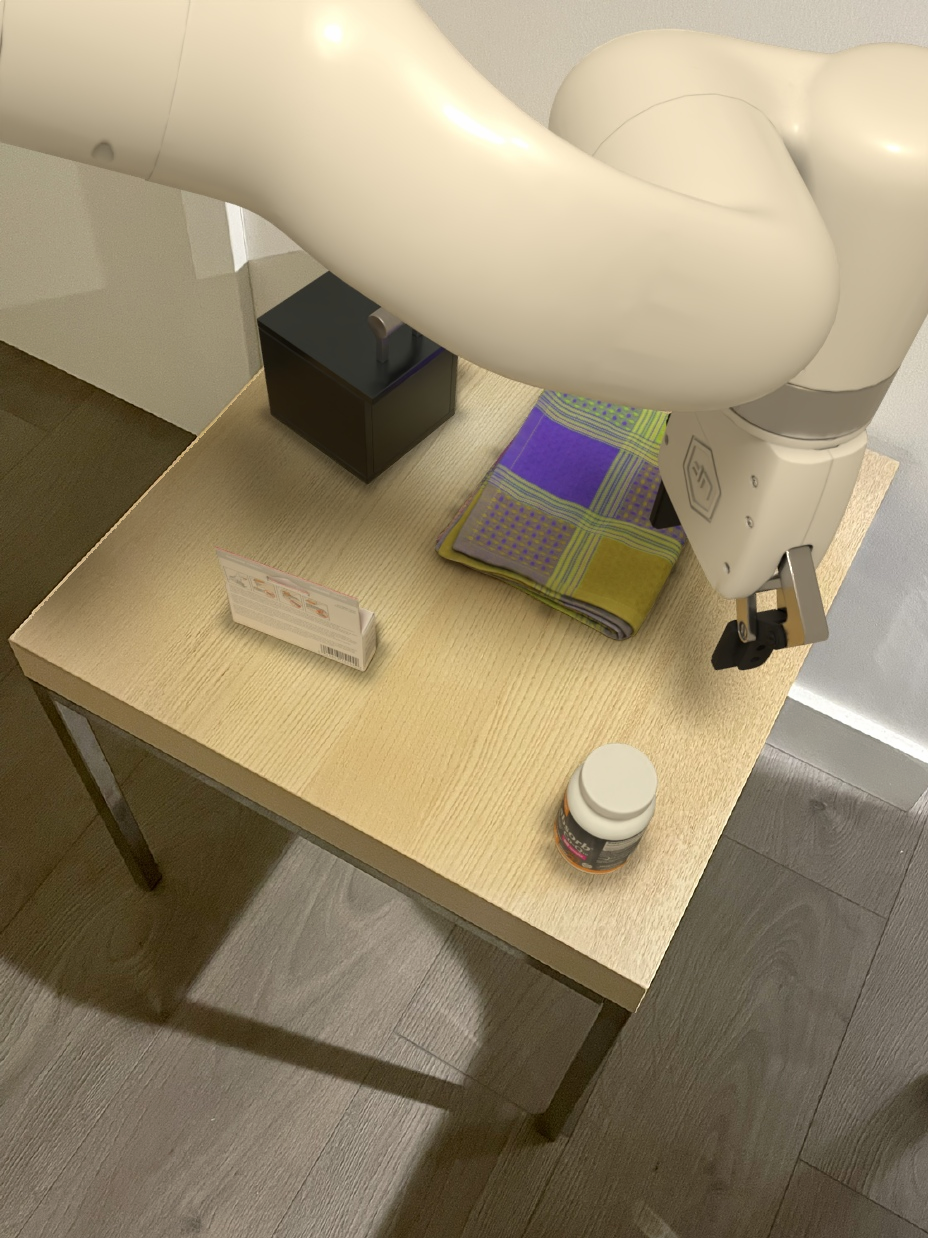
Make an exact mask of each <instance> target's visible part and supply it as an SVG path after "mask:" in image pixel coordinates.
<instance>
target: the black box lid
mask: <svg viewBox="0 0 928 1238" xmlns="http://www.w3.org/2000/svg"><path fill="white" fill-rule="evenodd" d="M256 324H257V328H258V327H259V328H261V329H262V330H264V331H265V332H267V333H268V334H270V335H271V336H272V337H274V338H275V339H277V340H278V341H280V342H281V343H282V344H284V345H285V346H287V347H288V348H290V349H291V350H293V351H294V352H295V353H297V354H298V355H300V356H301V357H303V358H304V359H306V360H307V361H308V362H310V363H311V364H313V365H314V366H316V367H317V368H318V369H320V370H321V371H323V372H324V373H326V374H327V375H329V376H330V377H331V378H333V379H334V380H336V381H337V382H339V383H340V384H342V385H343V386H344V387H346V388H347V389H349V390H350V391H352V392H353V393H355V394H356V395H357V396H359V397H360V398H362V399H363V400H365V401H366V402H367V403H369V404H370V405H372V406H373V405H374V404H376V403H377V402H378V401H380V400H381V399H382V398H384V397H385V396H386V395H387V394H389V393H390V392H391V391H393V390H394V389H395V388H397V387H398V386H399V385H401V384H402V383H403V382H404V381H406V380H407V379H408V378H410V377H411V376H412V375H414V374H415V373H416V372H418V371H419V370H420V369H421V368H423V367H424V366H425V365H427V364H428V363H429V362H431V361H432V360H433V359H435V358H436V357H437V356H438V355H440V354H441V353H442V352H444V351H445V350H446V349H445V348H443V347H442V346H440V345H439V344H437V343H435V342H434V341H432V340H430V339H429V338H427V337H426V336H424V335H422V334H421V333H419V332H418V331H416V330H415V329H413V328H412V327H410V326H409V325H407V324H406V323H404V322H403V321H401V320H400V319H398V318H397V317H395V316H394V315H393V314H391V313H390V312H388V311H387V310H385V309H384V308H383V307H381V306H380V305H378V304H377V303H375V302H374V301H372V300H370V299H369V298H367V297H366V296H364V295H363V294H361V293H360V292H359V291H357V290H356V289H354V288H353V287H351V286H350V285H348V284H347V283H345V282H344V281H342V280H341V279H340V278H338V277H337V276H336V275H334V274H333V273H332V272H330V271H329V270H328V271H326V272H324V273H323V274H321V275H320V276H318V277H317V278H315V279H314V280H312V281H311V282H309V283H308V284H306V285H305V286H303V287H302V288H300V289H299V290H297V291H296V292H295V293H293V294H291V295H290V296H288V297H287V298H285V299H284V300H282V301H281V302H280V303H278V304H277V305H274V307H272V308H270V309H269V310H267V311H266V312H264V313H263V314H261V315H260V316H258V317H257V318H256Z"/></svg>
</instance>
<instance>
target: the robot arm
mask: <svg viewBox="0 0 928 1238" xmlns="http://www.w3.org/2000/svg"><path fill="white" fill-rule="evenodd" d="M547 126H548V128H547V127H546V126H545V125H543V124H542V123H541V122H539V121H538V120H536V119H535V118H533V117H532V116H531V115H529V114H528V113H526V112H525V111H524V110H522V109H521V108H520V106H518V105H517V104H515V102H513V101H512V100H510V99H509V98H508V97H507V96H506V95H504V94H503V93H502V92H501V91H500V90H499V89H498V88H497V87H495V86H494V85H493V84H492V83H491V82H490V81H489V80H488V79H487V78H486V77H485V76H484V75H483V74H482V73H481V72H479V70H477V68H475V66H473V64H471V63H470V61H469V60H467V59H466V57H464V55H463V54H462V53H461V52H460V51H459V50H458V49H457V48H456V47H455V45H453V44H452V42H451V41H450V40H449V39H448V38H447V36H446V35H445V34H444V33H443V32H442V30H441V29H440V28H439V27H438V25H437V24H436V23H435V22H434V20H433V19H432V18H431V17H430V16H429V14H428V13H427V12H426V11H425V10H424V9H423V7H422V5H420V4H419V2H418V1H417V0H0V143H1V144H6V145H10V146H13V147H17V148H21V149H25V150H28V151H33V152H37V153H41V154H45V155H49V156H52V157H57V158H60V159H65V160H68V161H73V162H76V163H79V164H80V163H81V164H85V165H88V166H92V167H96V168H100V169H104V170H107V171H112V172H115V173H120V174H124V175H126V176H131V177H135V178H140V179H143V180H144V181H146V182H150V183H154V184H158V185H162V186H166V187H169V188H173V189H177V190H181V191H185V192H188V193H193V194H195V195H199V196H205V197H208V198H211V199H214V200H216V201H220V202H224V203H228V204H231V205H234V206H237V207H239V208H242V209H244V210H247V211H250V212H252V213H254V214H256V215H258V216H259V217H261V218H263V219H264V220H265V221H267V222H269V223H270V224H271V225H272V226H274V227H276V229H277V230H279V231H280V232H282V233H283V234H284V235H285V236H287V237H288V238H289V240H291V241H292V242H294V243H295V244H296V245H297V246H299V248H300V249H301V250H303V251H304V252H305V253H307V254H308V256H310V257H311V258H312V259H313V260H314V261H316V262H318V263H319V264H320V265H321V266H322V267H323V268H325V270H328V271H330V272H332V273H333V274H334V275H336V276H337V277H338V278H340V279H341V280H342V281H344V282H345V283H347V284H348V285H350V286H351V287H353V288H354V289H356V290H357V291H359V292H360V293H361V294H363V295H364V296H366V297H367V298H369V299H370V300H372V301H374V302H375V303H377V304H378V305H380V306H381V307H383V308H384V309H385V310H387V311H388V312H390V313H391V314H393V315H394V316H395V317H397V318H398V319H400V320H401V321H403V322H404V323H406V324H407V325H409V326H410V327H412V328H413V329H415V330H416V331H418V332H419V333H421V334H422V335H424V336H426V337H427V338H429V339H430V340H432V341H434V342H435V343H437V344H439V345H440V346H442V347H443V348H445V349H447V350H448V351H450V352H451V353H453V354H455V355H457V356H458V358H461V359H463V360H465V361H467V362H468V363H471V364H473V365H475V366H477V367H479V368H481V369H483V370H485V371H488V372H490V373H493V374H495V375H498V376H501V377H503V378H505V379H508V380H511V381H514V382H518V383H521V384H523V385H527V386H530V387H533V388H538V389H540V390H541V389H542V390H544V389H546V390H550V391H555V392H560V393H565V394H570V395H575V396H579V397H584V398H588V399H593V400H597V401H602V402H606V403H611V404H616V405H621V406H627V407H632V408H639V409H648V410H656V411H660V412H665V413H666V412H667V413H668V414H669V415H668V419H667V420H666V430H665V433H664V436H663V439H662V442H661V445H660V449H659V454H658V466H659V471H660V475H661V478H662V479H661V482H660V486H659V489H658V492H657V495H656V498H655V502H654V505H653V508H652V511H651V514H650V518H649V520H650V522H651V525H652V527H653V528H656V529H663V528H669V527H675V526H680V525H682V527H683V529H684V531H685V533H686V535H687V540H688V542H689V544H690V546H691V549H692V551H693V553H694V555H695V557H696V559H697V561H698V564H699V566H700V567H701V569H702V572H703V574H704V576H705V578H706V580H707V581H708V583H709V585H710V586H711V587H712V588H713V589H714V590H715V592H716V593H717V594H719V595H720V596H721V597H722V598H724V599H726V600H728V601H730V600H735V608H736V609H735V610H736V611H735V612H736V619H732V620H730V621H728V622H727V623H726V625H725V627H724V629H723V631H722V634H721V636H720V638H719V640H718V642H717V644H716V646H715V649H714V650H713V653H712V655H711V658H710V663H711V666H712V667H713V669H714V671H723V670H727V669H731V668H737V669H738V670H739V671H749V670H752V669H757V668H759V667H761V666H763V665H764V664H765V663H766V662H767V661H768V659H770V657H771V655H772V653H773V652H774V651H779V650H783V649H789V648H795V647H801V646H806V645H810V644H812V645H813V644H816V643H820V642H821V643H822V642H826V641H827V640H828V639H829V635H830V631H829V626H828V622H827V616H826V612H825V608H824V603H823V599H822V594H821V591H820V586H819V581H818V577H817V570H818V568H819V566H820V565H821V563H822V562H823V560H824V558H825V556H826V554H827V552H828V551H829V548H830V546H831V545H832V542H833V540H834V538H835V536H836V534H837V532H838V529H839V527H840V525H841V523H842V521H843V518H844V516H845V513H846V511H847V509H848V506H849V503H850V500H851V497H852V496H853V495H852V494H853V492H854V490H855V486H856V483H857V480H858V477H859V474H860V471H861V468H862V464H863V461H864V457H865V453H866V449H867V446H868V442H869V434H868V431H867V428H868V427H869V425H870V424H871V423H872V421H873V419H874V417H875V416H876V413H877V411H878V410H879V408H880V407H881V405H882V402H883V400H884V398H885V396H886V394H887V393H888V391H889V389H890V387H891V385H892V383H893V381H894V380H895V377H896V376H897V373H898V372H899V370H900V368H901V366H902V364H903V362H904V360H905V358H906V356H907V354H908V353H909V350H910V349H911V347H912V345H913V343H914V341H915V340H916V338H917V335H918V334H919V332H920V330H921V328H922V326H923V324H924V322H925V320H926V318H927V317H928V47H927V46H922V45H919V44H918V45H917V44H912V43H905V42H887V41H886V42H885V41H884V42H870V43H865V44H859V45H856V46H852V47H849V48H846V49H843V50H840V51H837V52H832V53H828V52H821V51H812V50H805V49H799V48H792V47H787V46H782V45H776V44H769V43H764V42H758V41H753V40H747V39H743V38H738V37H733V36H729V35H723V34H718V33H713V32H707V31H700V30H693V29H683V28H659V29H658V28H657V29H656V28H655V29H644V30H643V29H642V30H637V31H634V32H629V33H626V34H622V35H620V36H616V37H614V38H612V39H610V40H608V41H606V42H604V43H602V44H600V45H599V46H596V47H595V48H594V49H592V50H591V51H589V52H588V53H587V54H586V55H584V56H583V57H582V58H581V59H580V60H579V61H578V62H576V64H575V65H574V66H573V67H572V68H571V69H570V71H569V72H568V74H566V76H565V78H564V79H563V81H562V82H561V84H560V86H559V87H558V90H557V92H556V93H555V95H554V99H553V102H552V105H551V108H550V113H549V118H548V125H547ZM775 590H776V608H772V609H767V610H761V611H758V603H757V594H759V593H764V592H770V591H775Z"/></svg>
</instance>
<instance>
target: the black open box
mask: <svg viewBox="0 0 928 1238" xmlns="http://www.w3.org/2000/svg"><path fill="white" fill-rule="evenodd" d="M257 329H258V330H257V331H258V336H259V343H260V350H261V356H262V357H261V358H262V364H263V365H262V366H263V371H264V377H265V378H264V379H265V384H266V392H267V397H268V398H267V400H268V406H269V412H270V415H271V416H273V417H274V418H275V419H277V420H278V421H279V422H281V423H282V424H283V425H285V426H286V427H288V428H289V429H290V430H292V431H293V432H295V433H296V434H297V435H299V436H300V437H301V438H303V439H304V440H306V441H307V442H308V443H309V444H311V445H312V446H314V447H315V448H317V449H318V450H319V451H321V453H323V454H325V455H326V456H328V457H329V458H330V459H332V460H333V461H335V462H336V463H337V464H339V465H340V466H341V467H343V468H344V469H345V470H347V471H348V472H349V473H351V474H352V475H354V476H355V477H356V478H357V479H359V480H360V481H362V482H363V483H365V484H366V485H369V484H370V483H371V482H372V481H374V480H375V479H376V478H377V477H378V476H380V475H381V474H382V473H384V472H385V471H386V470H387V469H389V468H390V467H391V466H392V465H393V464H395V463H396V462H397V461H398V460H400V459H401V458H402V457H404V455H405V454H408V452H409V451H411V450H412V449H413V448H414V447H416V446H417V445H418V444H419V443H421V442H422V441H423V440H424V439H425V438H427V437H428V436H429V435H431V434H432V433H433V432H434V431H436V430H437V429H438V428H439V427H440V426H442V425H443V424H444V423H445V422H446V421H448V420H449V419H450V418H452V416H454V415H456V414H455V413H456V402H457V401H456V399H457V383H458V365H459V356H457V355H455V354H453V353H451V352H450V351H448V350H447V349H446V350H445V351H444V352H442V353H441V354H440V355H438V356H437V357H436V358H435V359H433V360H432V361H431V362H429V363H428V364H427V365H425V366H424V367H423V368H421V369H420V370H419V371H418V372H416V373H415V374H414V375H412V376H411V377H410V378H408V379H407V380H406V381H404V382H403V383H402V384H401V385H399V386H398V387H397V388H395V389H394V390H393V391H391V392H390V393H389V394H387V395H386V396H385V397H384V398H382V399H381V400H380V401H378V402H377V403H376V404H374V405H373V406H372V405H370V404H369V403H367V402H366V401H365V400H363V399H362V398H360V397H359V396H357V395H356V394H355V393H353V392H352V391H350V390H349V389H347V388H346V387H344V386H343V385H342V384H340V383H339V382H337V381H336V380H334V379H333V378H331V377H330V376H329V375H327V374H326V373H324V372H323V371H321V370H320V369H318V368H317V367H316V366H314V365H313V364H311V363H310V362H308V361H307V360H306V359H304V358H303V357H301V356H300V355H298V354H297V353H295V352H294V351H293V350H291V349H290V348H288V347H287V346H285V345H284V344H282V343H281V342H280V341H278V340H277V339H275V338H274V337H272V336H271V335H270V334H268V333H267V332H265V331H264V330H262V329H261V328H259V327H258V326H257Z"/></svg>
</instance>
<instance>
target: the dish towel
mask: <svg viewBox="0 0 928 1238" xmlns="http://www.w3.org/2000/svg"><path fill="white" fill-rule="evenodd" d="M668 415H669V413H666V412H664V411H656V410H648V409H639V408H632V407H627V406H621V405H616V404H611V403H606V402H602V401H597V400H593V399H588V398H584V397H579V396H575V395H570V394H565V393H560V392H555V391H550V390H546V389H542V391H541V393H540V395H539V396H538V398H537V400H536V401H535V404H534V406H533V407H532V408H531V410H530V412H529V413H528V415H527V417H526V418H525V420H524V422H523V423H522V424H521V426H520V428H519V429H518V431H517V434H515V436H514V437H513V438H512V439H511V440H510V442H509V443H508V445H507V446H506V447H505V448H504V450H503V451H502V452H501V454H500V455H499V456H498V458H497V459H496V461H494V462H493V463H494V464H492V465H491V467H490V468H489V469H488V470H487V472H486V473H485V475H484V476H483V478H482V479H481V481H480V482H479V484H478V485H477V486H476V488H475V489H474V491H473V492H472V493H471V494H470V496H469V497H468V498H467V499H466V500H465V501H464V503H463V504H462V506H461V507H460V509H459V510H458V512H457V513H456V515H454V517H452V519H451V521H450V522H449V523H448V525H447V526H446V527H445V529H444V530H443V531H442V532H441V533H440V534H439V535H438V536H437V538H436V539H435V542H436V545H435V546H434V550H435V551H437V555H438V556H440V557H441V558H444V559H447V560H450V561H453V562H457V563H459V564H462V565H464V566H465V567H467V568H470V569H471V570H475V571H477V572H479V573H482V574H485V575H488V576H490V577H493V578H496V579H498V580H500V581H502V582H504V583H506V584H508V585H510V586H512V587H514V588H516V589H518V590H520V591H521V592H523V593H525V594H526V595H528V596H530V597H532V598H533V599H536V600H537V601H540V602H542V603H543V604H545V605H547V606H549V607H551V608H553V609H555V610H557V611H559V612H561V613H563V614H565V615H567V616H570V617H571V618H574V619H575V620H576V621H579V622H580V623H581V624H584V625H587V626H588V627H590V628H591V629H594V630H596V631H597V632H599V633H601V634H603V635H604V636H606V637H608V638H610V639H613V640H616V641H623V640H627V639H629V638H630V637H634V636H636V635H637V634H638V631H639V630H640V628H641V627H642V625H643V624H644V622H645V621H646V618H647V617H648V616H649V613H650V611H651V610H652V608H653V607H654V605H655V602H656V601H657V598H658V597H659V595H660V593H661V591H662V589H663V588H664V586H665V583H666V582H667V580H668V578H669V576H670V574H671V572H672V568H673V567H674V565H675V564H676V562H677V561H678V560H679V557H680V554H681V552H682V549H683V547H684V545H685V544H686V541H687V540H688V538H687V535H686V533H685V531H684V529H683V527H682V525H680V526H675V527H669V528H663V529H656V528H653V527H652V525H651V522H650V520H649V518H650V514H651V511H652V508H653V505H654V502H655V498H656V495H657V492H658V489H659V486H660V482H661V479H662V478H661V475H660V471H659V466H658V454H659V449H660V445H661V442H662V439H663V436H664V433H665V430H666V420H667V419H668Z"/></svg>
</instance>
